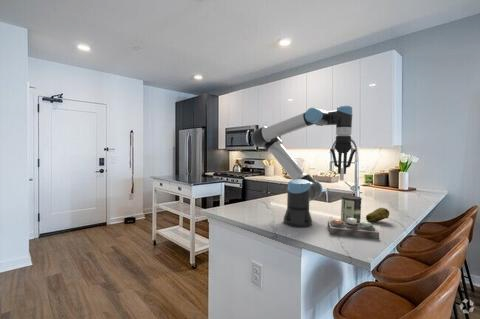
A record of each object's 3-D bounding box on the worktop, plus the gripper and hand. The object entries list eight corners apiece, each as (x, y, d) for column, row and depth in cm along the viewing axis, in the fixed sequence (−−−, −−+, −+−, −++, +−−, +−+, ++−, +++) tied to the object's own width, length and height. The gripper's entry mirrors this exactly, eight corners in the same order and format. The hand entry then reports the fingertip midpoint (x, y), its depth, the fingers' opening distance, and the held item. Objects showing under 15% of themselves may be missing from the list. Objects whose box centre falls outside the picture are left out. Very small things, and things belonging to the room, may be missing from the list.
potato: (362, 218, 141) (362, 205, 141) (385, 220, 139) (386, 206, 139) (367, 223, 133) (368, 208, 133) (392, 224, 131) (393, 210, 131)
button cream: (348, 223, 116) (348, 219, 116) (346, 221, 120) (346, 217, 120) (357, 224, 115) (357, 220, 115) (355, 222, 119) (355, 218, 119)
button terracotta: (333, 225, 118) (333, 221, 118) (332, 222, 122) (332, 218, 122) (342, 226, 117) (343, 222, 116) (341, 223, 121) (341, 219, 121)
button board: (330, 234, 114) (330, 225, 114) (327, 226, 126) (327, 218, 126) (378, 239, 109) (379, 230, 109) (371, 230, 121) (371, 222, 121)
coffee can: (357, 219, 139) (358, 195, 139) (362, 225, 129) (364, 199, 129) (338, 218, 141) (339, 194, 141) (342, 223, 131) (343, 198, 131)
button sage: (362, 227, 114) (362, 223, 114) (360, 225, 118) (360, 221, 118) (372, 228, 113) (372, 224, 113) (369, 226, 117) (370, 222, 117)
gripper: (331, 135, 124) (329, 180, 125) (358, 135, 121) (356, 181, 122) (329, 136, 131) (327, 178, 132) (355, 136, 128) (353, 179, 129)
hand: (341, 180), depth 127 cm, fingers closed
